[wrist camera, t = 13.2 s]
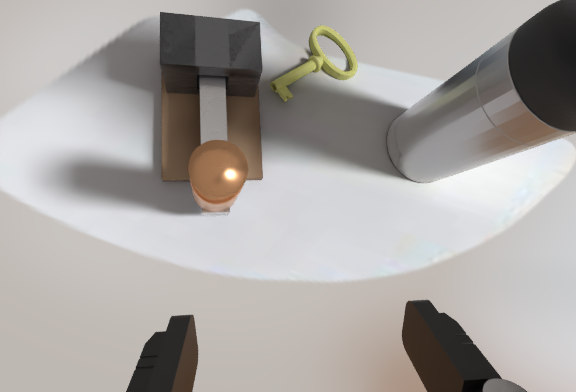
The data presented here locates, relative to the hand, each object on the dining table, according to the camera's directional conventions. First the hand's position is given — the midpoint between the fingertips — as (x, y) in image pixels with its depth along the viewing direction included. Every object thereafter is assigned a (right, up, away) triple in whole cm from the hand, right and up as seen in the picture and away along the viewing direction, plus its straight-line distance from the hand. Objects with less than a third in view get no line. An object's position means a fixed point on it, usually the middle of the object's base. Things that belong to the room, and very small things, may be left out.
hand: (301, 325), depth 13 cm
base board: (-9, +13, +24) cm, 29 cm away
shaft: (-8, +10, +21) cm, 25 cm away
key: (+2, +20, +29) cm, 35 cm away
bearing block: (-9, +18, +25) cm, 32 cm away
